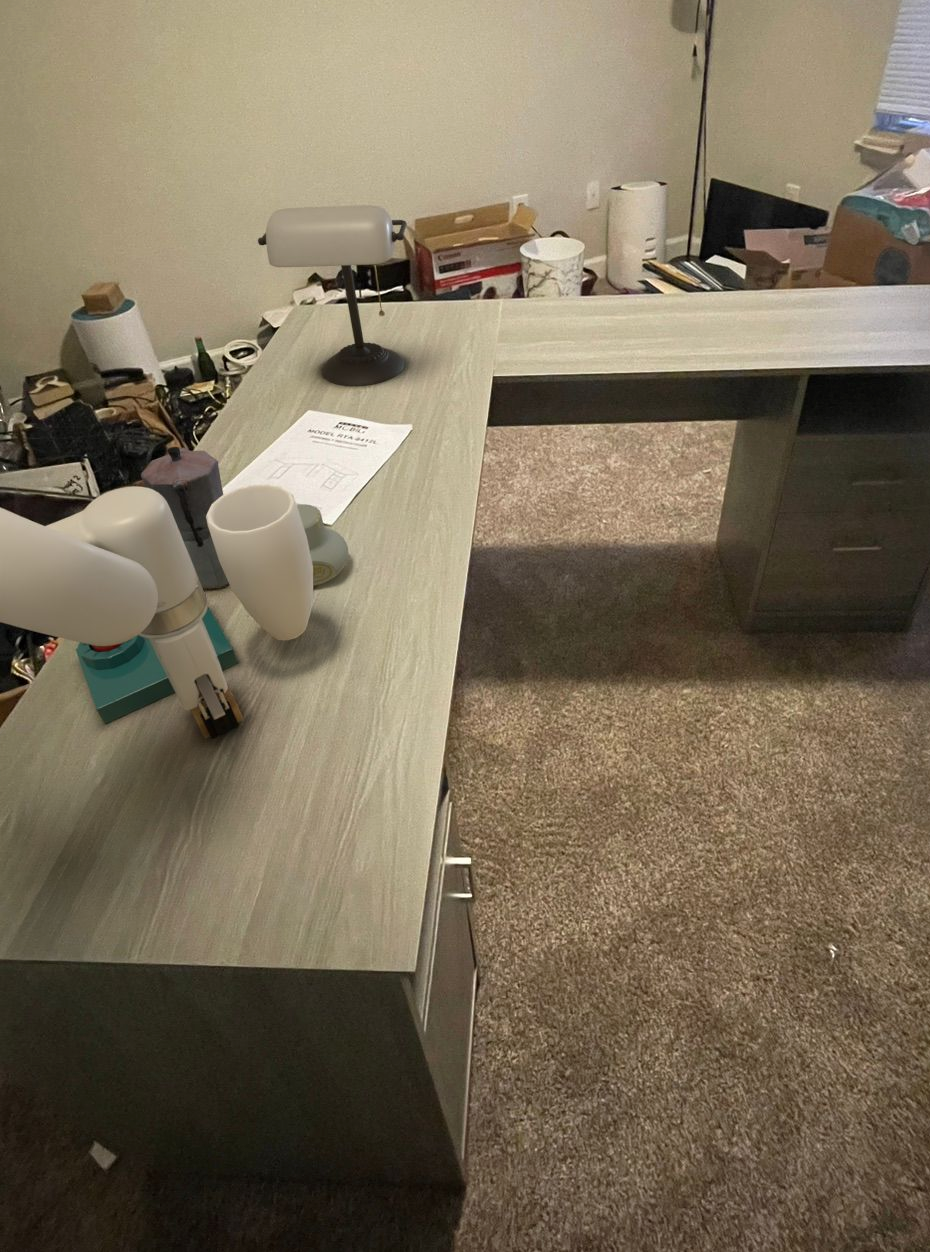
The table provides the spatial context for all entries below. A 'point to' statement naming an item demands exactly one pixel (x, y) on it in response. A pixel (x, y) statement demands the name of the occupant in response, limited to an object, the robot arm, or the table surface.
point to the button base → (137, 672)
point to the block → (197, 711)
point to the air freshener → (323, 545)
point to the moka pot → (191, 504)
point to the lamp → (342, 243)
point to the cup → (265, 556)
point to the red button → (105, 647)
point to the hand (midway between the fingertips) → (217, 715)
